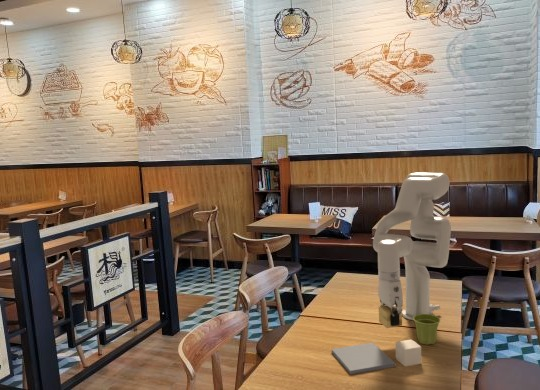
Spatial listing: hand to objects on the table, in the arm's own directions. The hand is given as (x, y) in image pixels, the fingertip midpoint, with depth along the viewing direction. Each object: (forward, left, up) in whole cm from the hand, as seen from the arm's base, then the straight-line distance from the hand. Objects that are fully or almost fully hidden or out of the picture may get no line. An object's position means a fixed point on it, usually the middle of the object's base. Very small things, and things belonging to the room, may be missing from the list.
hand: (390, 320), depth 169 cm
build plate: (+15, +8, -9) cm, 19 cm away
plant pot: (-13, +3, -9) cm, 16 cm away
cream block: (+1, +14, -9) cm, 16 cm away
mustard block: (0, 0, -1) cm, 1 cm away
